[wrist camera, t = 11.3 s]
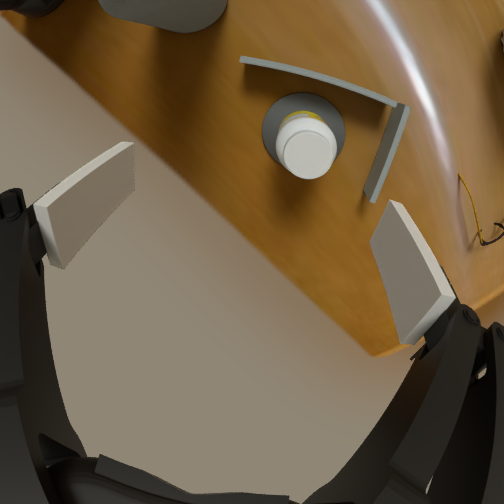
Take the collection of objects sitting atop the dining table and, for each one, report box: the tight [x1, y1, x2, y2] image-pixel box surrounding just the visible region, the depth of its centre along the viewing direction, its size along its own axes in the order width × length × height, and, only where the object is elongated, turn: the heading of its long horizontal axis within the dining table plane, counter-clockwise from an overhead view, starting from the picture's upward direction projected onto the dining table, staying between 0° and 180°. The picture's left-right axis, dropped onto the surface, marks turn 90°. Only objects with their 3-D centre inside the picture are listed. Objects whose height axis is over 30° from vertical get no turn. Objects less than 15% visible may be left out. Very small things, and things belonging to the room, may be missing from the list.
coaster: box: [262, 93, 345, 165], centre depth 34 cm, size 11×11×1 cm
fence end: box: [363, 103, 411, 203], centre depth 32 cm, size 1×14×4 cm, turn 168°
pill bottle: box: [276, 110, 337, 179], centre depth 29 cm, size 6×6×12 cm
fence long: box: [239, 56, 398, 108], centre depth 28 cm, size 19×1×4 cm, turn 79°
